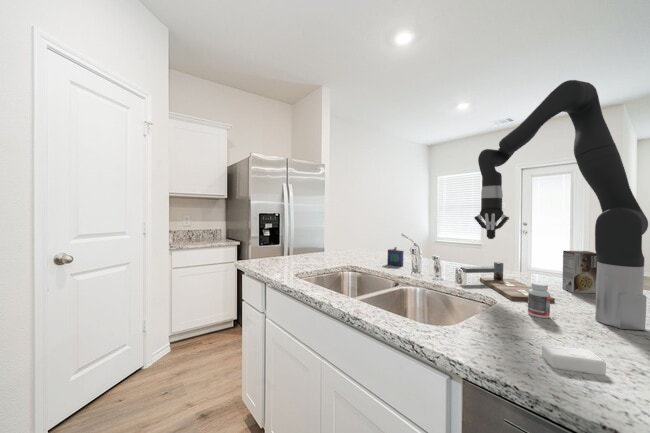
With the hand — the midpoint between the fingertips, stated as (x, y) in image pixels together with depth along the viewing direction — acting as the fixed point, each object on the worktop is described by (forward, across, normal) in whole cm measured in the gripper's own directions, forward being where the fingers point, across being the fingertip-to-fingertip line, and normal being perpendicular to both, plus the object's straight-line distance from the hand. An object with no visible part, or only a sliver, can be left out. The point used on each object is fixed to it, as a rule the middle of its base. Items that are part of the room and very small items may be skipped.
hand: (491, 238), depth 115 cm
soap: (+22, +30, -52) cm, 64 cm away
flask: (+20, -52, +10) cm, 57 cm away
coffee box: (+21, +26, +23) cm, 40 cm away
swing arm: (+19, -5, +6) cm, 20 cm away
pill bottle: (+21, +20, -23) cm, 37 cm away
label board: (+21, +7, +3) cm, 22 cm away
